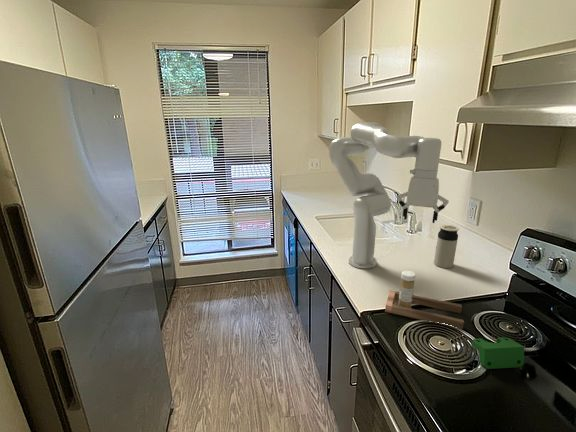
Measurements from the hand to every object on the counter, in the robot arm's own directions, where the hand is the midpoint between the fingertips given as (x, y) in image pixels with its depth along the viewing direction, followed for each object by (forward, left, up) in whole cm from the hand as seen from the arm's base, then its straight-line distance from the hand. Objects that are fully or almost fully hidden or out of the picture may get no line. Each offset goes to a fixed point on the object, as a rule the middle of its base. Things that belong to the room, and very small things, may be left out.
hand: (419, 220), depth 119 cm
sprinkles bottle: (+15, -1, -28) cm, 32 cm away
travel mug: (-28, +12, -28) cm, 42 cm away
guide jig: (+15, +6, -28) cm, 32 cm away
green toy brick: (+32, +24, -29) cm, 49 cm away
